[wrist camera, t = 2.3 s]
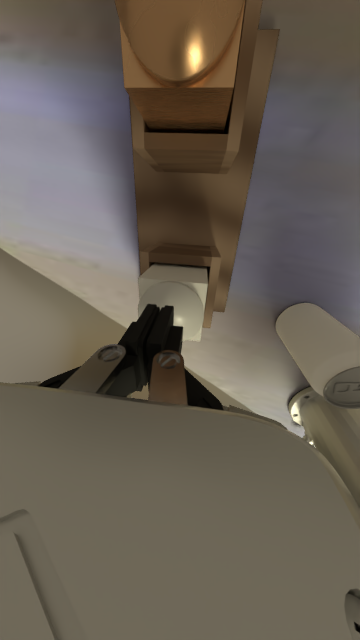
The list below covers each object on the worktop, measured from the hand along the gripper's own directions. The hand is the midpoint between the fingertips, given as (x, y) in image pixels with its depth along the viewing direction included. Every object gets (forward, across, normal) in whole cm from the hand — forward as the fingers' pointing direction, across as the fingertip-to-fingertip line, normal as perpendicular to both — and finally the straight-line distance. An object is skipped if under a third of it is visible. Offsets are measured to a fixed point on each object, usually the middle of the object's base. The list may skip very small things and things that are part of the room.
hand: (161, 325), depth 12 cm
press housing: (+15, 0, -7) cm, 16 cm away
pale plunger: (+9, 0, 0) cm, 9 cm away
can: (+14, -18, +6) cm, 24 cm away
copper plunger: (+10, 0, -14) cm, 17 cm away
